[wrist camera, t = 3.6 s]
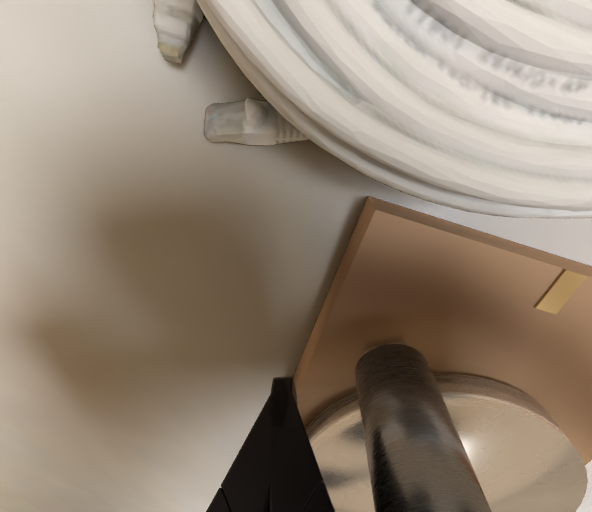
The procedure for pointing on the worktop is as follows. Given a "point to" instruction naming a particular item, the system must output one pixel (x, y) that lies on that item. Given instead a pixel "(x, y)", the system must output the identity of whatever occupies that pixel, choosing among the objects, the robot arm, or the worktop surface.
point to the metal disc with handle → (441, 443)
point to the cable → (415, 92)
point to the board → (455, 314)
